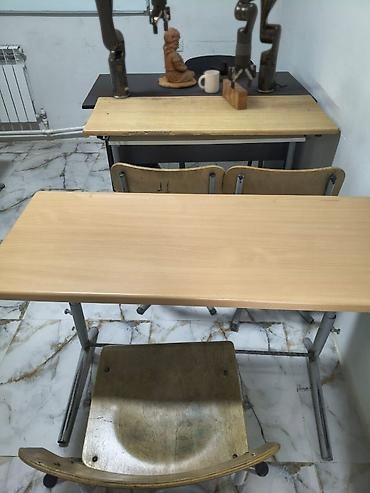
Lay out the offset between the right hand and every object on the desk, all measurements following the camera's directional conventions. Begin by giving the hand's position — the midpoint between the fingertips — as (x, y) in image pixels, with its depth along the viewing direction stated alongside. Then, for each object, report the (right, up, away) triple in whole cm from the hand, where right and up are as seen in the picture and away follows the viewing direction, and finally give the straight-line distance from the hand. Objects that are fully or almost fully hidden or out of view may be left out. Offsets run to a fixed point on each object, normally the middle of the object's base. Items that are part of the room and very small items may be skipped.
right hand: (241, 88), depth 181 cm
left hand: (-41, +27, -3) cm, 49 cm away
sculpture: (-33, +22, +43) cm, 58 cm away
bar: (-2, -2, +12) cm, 13 cm away
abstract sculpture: (-5, +29, +49) cm, 57 cm away
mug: (-15, +10, +27) cm, 32 cm away
